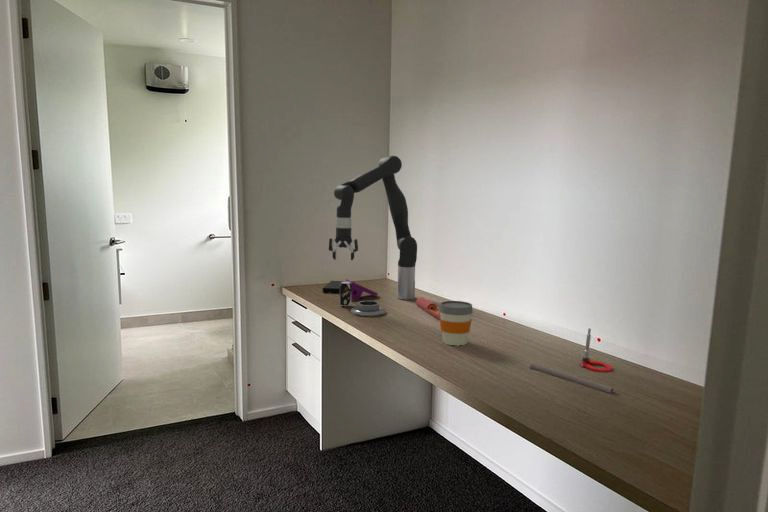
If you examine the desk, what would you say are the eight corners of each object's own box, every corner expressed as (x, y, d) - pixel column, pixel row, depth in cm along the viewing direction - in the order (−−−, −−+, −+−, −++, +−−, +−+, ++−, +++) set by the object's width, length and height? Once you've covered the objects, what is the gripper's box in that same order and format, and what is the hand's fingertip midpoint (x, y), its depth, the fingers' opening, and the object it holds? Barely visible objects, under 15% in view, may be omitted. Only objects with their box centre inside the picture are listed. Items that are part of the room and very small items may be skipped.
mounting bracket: (367, 305, 285) (339, 293, 277) (373, 291, 285) (346, 279, 278) (374, 309, 276) (345, 296, 269) (380, 294, 277) (352, 281, 269)
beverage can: (353, 306, 256) (353, 282, 255) (345, 308, 252) (345, 283, 250) (345, 304, 260) (345, 280, 258) (337, 306, 256) (337, 282, 254)
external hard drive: (322, 293, 287) (322, 288, 287) (331, 285, 310) (331, 280, 310) (348, 294, 286) (348, 289, 285) (354, 286, 309) (354, 281, 308)
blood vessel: (462, 328, 220) (462, 317, 219) (451, 329, 218) (451, 318, 218) (425, 306, 260) (425, 296, 259) (415, 307, 258) (416, 297, 257)
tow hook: (615, 369, 174) (587, 361, 180) (620, 332, 172) (592, 325, 178) (606, 375, 168) (577, 367, 174) (611, 337, 166) (582, 330, 172)
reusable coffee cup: (460, 336, 207) (462, 299, 205) (477, 345, 196) (479, 306, 194) (432, 339, 203) (433, 301, 201) (447, 348, 191) (449, 309, 189)
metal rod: (532, 368, 173) (533, 362, 173) (613, 393, 153) (613, 386, 153) (529, 369, 172) (530, 363, 172) (610, 394, 152) (610, 388, 152)
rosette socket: (385, 309, 251) (385, 299, 251) (384, 317, 236) (384, 307, 235) (352, 308, 252) (352, 299, 251) (349, 316, 236) (349, 306, 236)
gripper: (359, 226, 256) (358, 259, 258) (331, 225, 258) (330, 258, 260) (356, 227, 248) (356, 261, 251) (327, 226, 250) (327, 260, 252)
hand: (343, 259), depth 255 cm, fingers open, 8 cm apart
